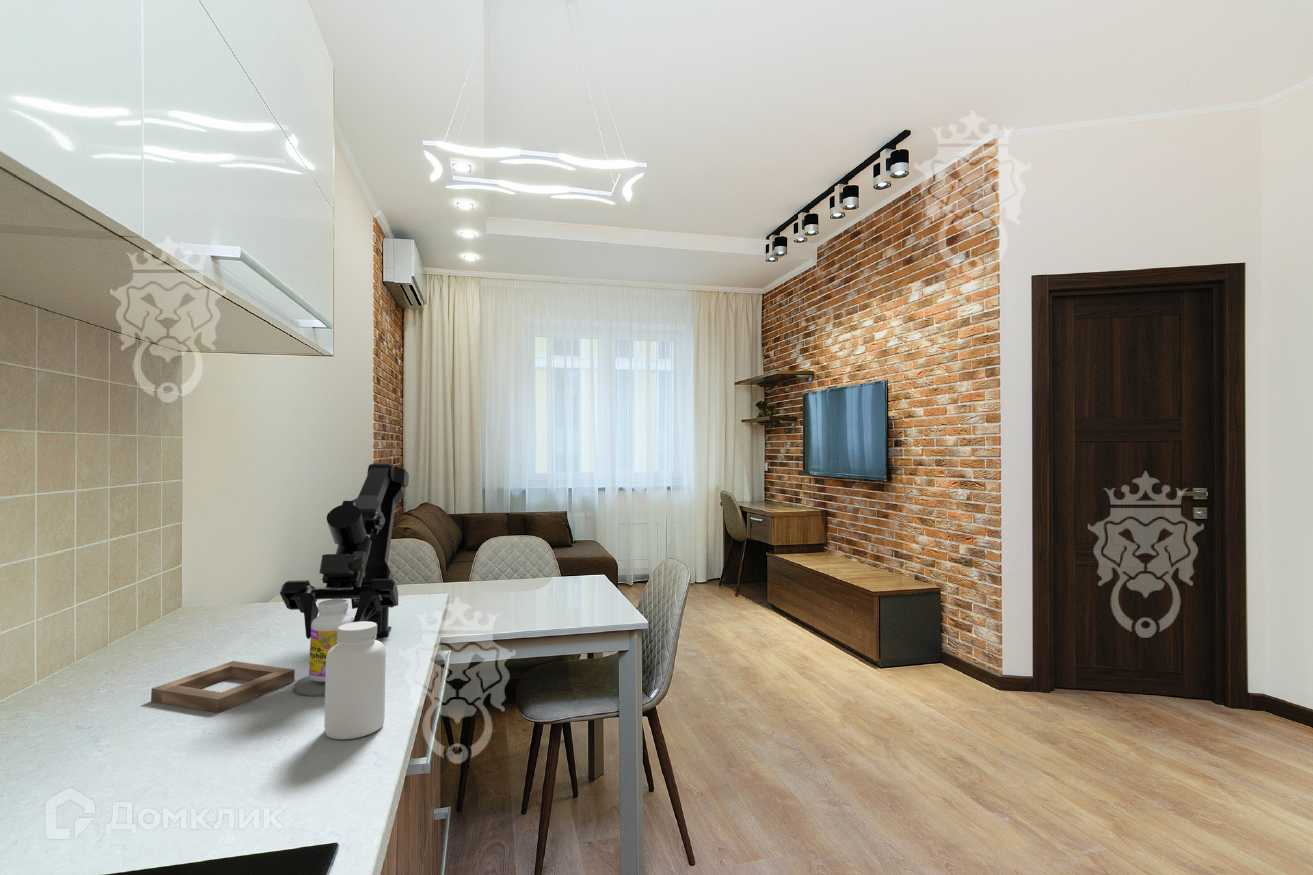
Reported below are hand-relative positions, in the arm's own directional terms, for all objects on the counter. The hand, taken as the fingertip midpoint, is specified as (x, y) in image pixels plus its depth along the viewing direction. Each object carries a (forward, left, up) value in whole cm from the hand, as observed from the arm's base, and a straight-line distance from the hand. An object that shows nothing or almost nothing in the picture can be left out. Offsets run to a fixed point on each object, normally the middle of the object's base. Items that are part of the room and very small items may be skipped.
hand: (329, 636), depth 106 cm
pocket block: (-2, -16, -8) cm, 18 cm away
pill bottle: (+19, +7, -9) cm, 22 cm away
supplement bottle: (-1, 0, -7) cm, 8 cm away
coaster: (-1, 0, -8) cm, 9 cm away
